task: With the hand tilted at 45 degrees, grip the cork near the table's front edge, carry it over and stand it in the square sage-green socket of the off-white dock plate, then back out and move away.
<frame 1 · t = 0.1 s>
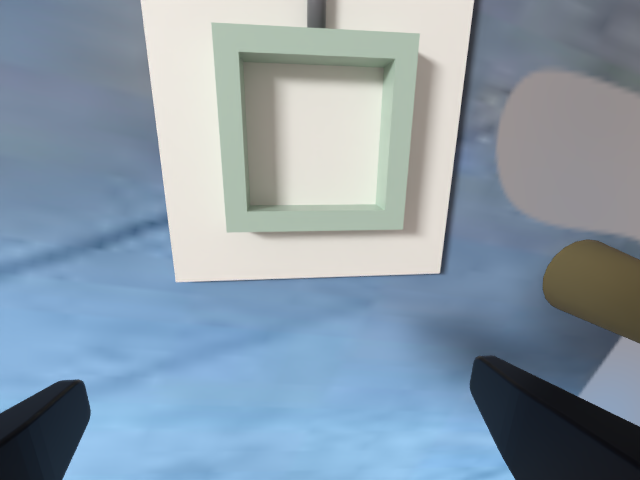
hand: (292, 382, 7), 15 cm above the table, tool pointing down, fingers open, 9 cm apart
dock plate: (313, 139, 20), on the table
cork: (576, 275, 25), on the table
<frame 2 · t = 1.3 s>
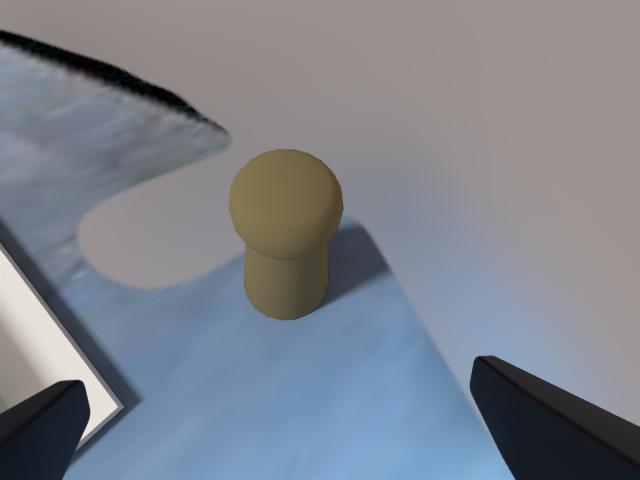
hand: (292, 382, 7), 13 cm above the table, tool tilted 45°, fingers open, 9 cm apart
cork: (286, 279, 23), on the table
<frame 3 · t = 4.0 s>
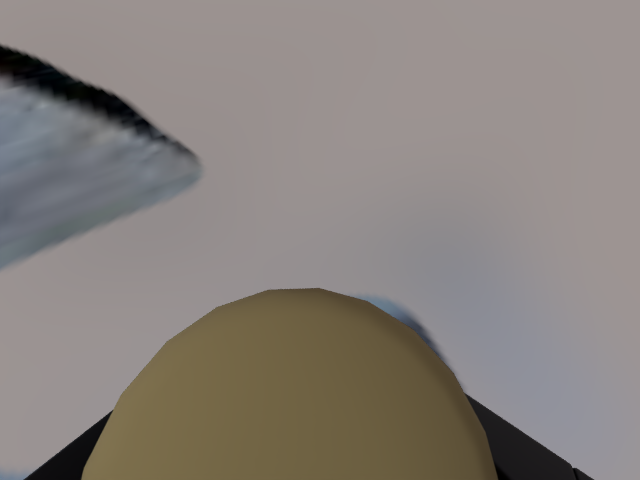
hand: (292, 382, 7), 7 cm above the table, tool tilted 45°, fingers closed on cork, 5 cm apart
cork: (290, 434, 13), on the table, touching gripper
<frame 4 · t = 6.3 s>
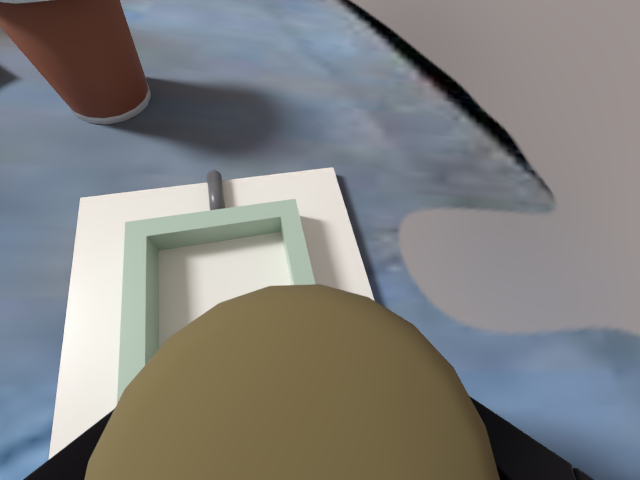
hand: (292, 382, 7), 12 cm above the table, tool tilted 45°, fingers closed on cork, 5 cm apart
dock plate: (229, 301, 20), on the table
coffee cup: (112, 99, 28), on the table
cork: (292, 432, 13), point 5 cm above the table, touching gripper
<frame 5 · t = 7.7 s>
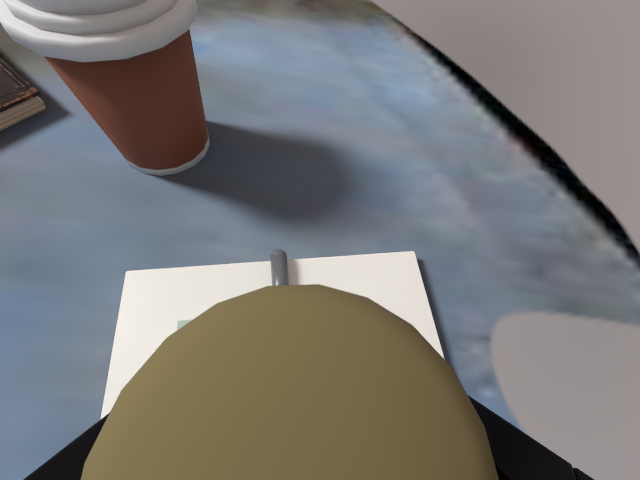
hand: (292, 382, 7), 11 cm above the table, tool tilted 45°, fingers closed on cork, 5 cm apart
dock plate: (289, 423, 17), on the table
coffee cup: (168, 145, 25), on the table
cork: (291, 432, 13), point 4 cm above the table, touching gripper
when the fingers open (8 cm above the table, at t = 8.7 s): cork stays where it is, resting on dock plate.
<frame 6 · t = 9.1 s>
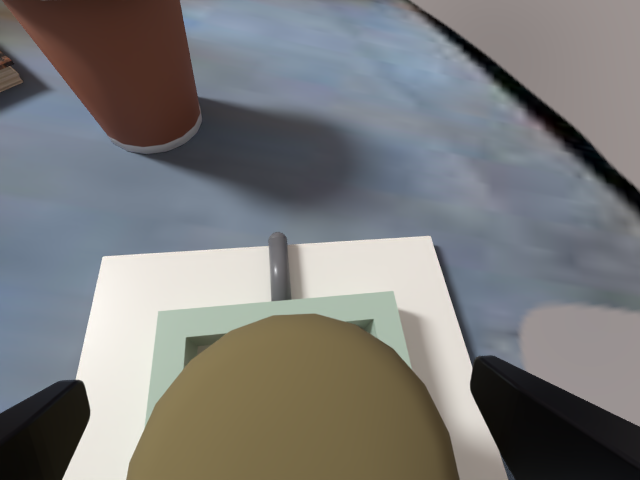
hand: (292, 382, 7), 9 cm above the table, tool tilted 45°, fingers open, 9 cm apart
dock plate: (289, 432, 14), on the table
coffee cup: (155, 121, 23), on the table
cork: (291, 435, 14), point 1 cm above the table, touching dock plate
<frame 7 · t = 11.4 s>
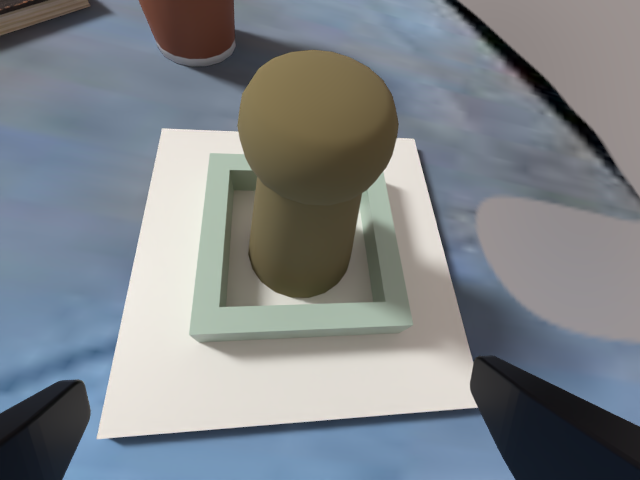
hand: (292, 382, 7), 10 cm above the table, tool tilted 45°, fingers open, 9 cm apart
dock plate: (298, 252, 20), on the table
coffee cup: (197, 44, 28), on the table
cork: (300, 249, 19), point 1 cm above the table, touching dock plate
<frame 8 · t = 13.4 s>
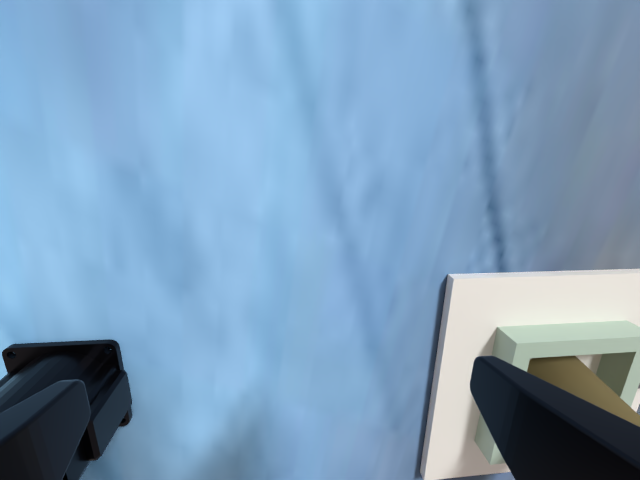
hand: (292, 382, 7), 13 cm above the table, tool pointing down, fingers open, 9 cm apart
dock plate: (540, 375, 25), on the table
cork: (544, 381, 25), point 1 cm above the table, touching dock plate
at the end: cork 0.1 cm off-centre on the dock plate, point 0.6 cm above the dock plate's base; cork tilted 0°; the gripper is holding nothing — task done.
